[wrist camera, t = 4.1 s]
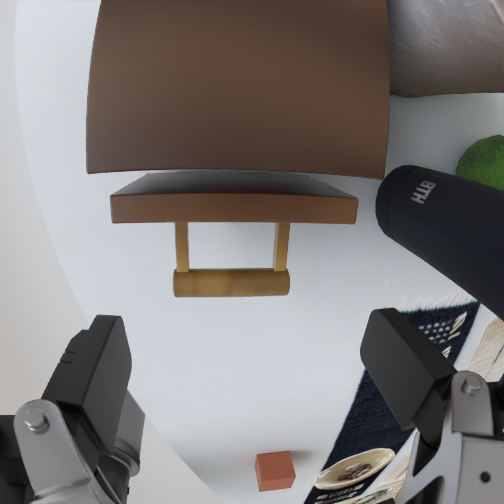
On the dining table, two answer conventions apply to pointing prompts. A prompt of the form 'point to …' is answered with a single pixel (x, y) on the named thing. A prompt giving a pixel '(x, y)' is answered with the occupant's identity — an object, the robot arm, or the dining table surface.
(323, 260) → the dining table surface
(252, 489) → the dining table surface
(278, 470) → the block
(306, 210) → the drawer
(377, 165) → the cabinet
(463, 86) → the pillar candle
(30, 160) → the dining table surface
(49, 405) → the robot arm
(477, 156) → the fruit
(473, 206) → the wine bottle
